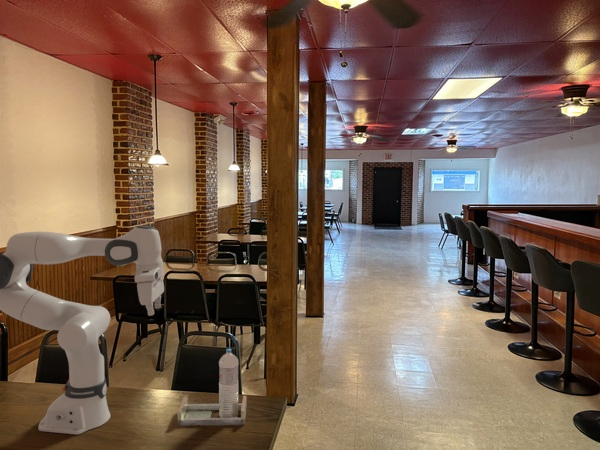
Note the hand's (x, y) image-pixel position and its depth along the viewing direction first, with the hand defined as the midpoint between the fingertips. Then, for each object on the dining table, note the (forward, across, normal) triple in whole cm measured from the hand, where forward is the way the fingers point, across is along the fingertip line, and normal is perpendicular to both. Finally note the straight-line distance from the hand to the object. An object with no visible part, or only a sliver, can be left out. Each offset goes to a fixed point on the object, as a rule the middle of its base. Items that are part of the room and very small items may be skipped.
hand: (154, 311), depth 155 cm
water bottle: (+42, -1, +22) cm, 47 cm away
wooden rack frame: (+41, -2, +16) cm, 44 cm away
